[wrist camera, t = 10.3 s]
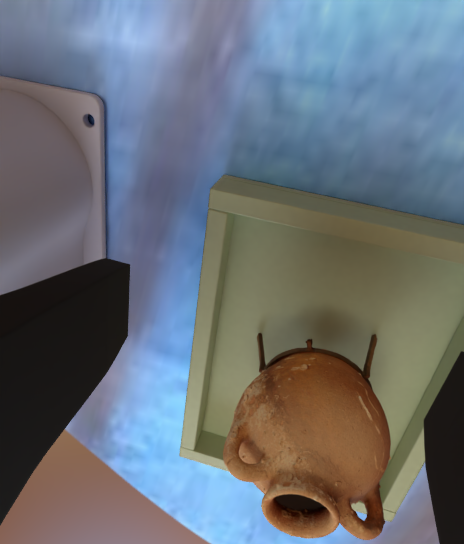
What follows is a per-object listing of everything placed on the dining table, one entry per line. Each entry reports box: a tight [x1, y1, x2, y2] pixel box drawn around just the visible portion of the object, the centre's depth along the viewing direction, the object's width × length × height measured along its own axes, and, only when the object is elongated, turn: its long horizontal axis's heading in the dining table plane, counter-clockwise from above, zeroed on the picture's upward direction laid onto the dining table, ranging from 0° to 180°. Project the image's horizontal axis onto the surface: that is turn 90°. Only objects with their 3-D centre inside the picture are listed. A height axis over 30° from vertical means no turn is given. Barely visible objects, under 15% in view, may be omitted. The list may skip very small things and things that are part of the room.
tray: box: [180, 175, 464, 522], centre depth 20 cm, size 16×12×2 cm
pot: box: [223, 333, 391, 540], centre depth 17 cm, size 6×8×6 cm
